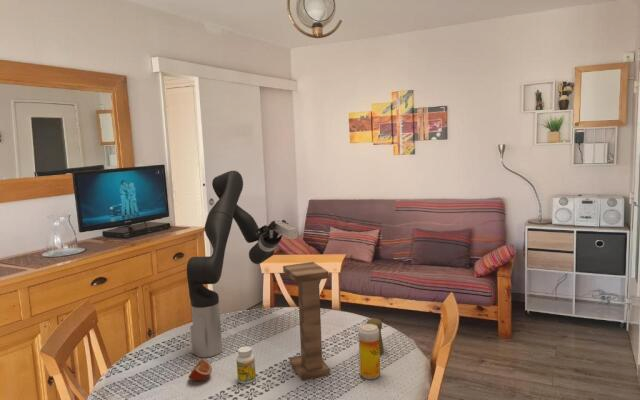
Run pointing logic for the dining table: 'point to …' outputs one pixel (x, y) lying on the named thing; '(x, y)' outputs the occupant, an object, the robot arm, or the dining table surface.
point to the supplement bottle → (245, 365)
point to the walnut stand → (308, 320)
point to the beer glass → (369, 351)
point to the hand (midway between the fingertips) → (279, 222)
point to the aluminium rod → (286, 230)
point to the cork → (379, 325)
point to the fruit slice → (201, 370)
